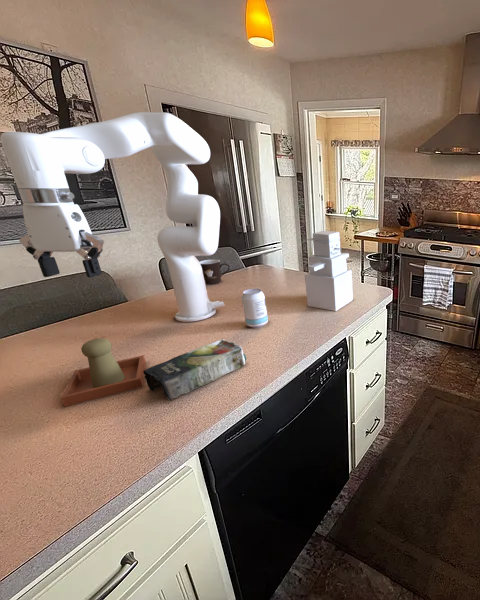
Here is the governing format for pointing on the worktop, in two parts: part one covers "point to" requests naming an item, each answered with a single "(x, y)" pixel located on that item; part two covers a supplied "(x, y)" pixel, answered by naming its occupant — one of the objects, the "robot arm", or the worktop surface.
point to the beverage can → (254, 308)
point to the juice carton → (195, 368)
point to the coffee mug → (212, 271)
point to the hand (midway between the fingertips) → (73, 275)
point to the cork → (102, 363)
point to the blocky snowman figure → (328, 273)
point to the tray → (84, 391)
